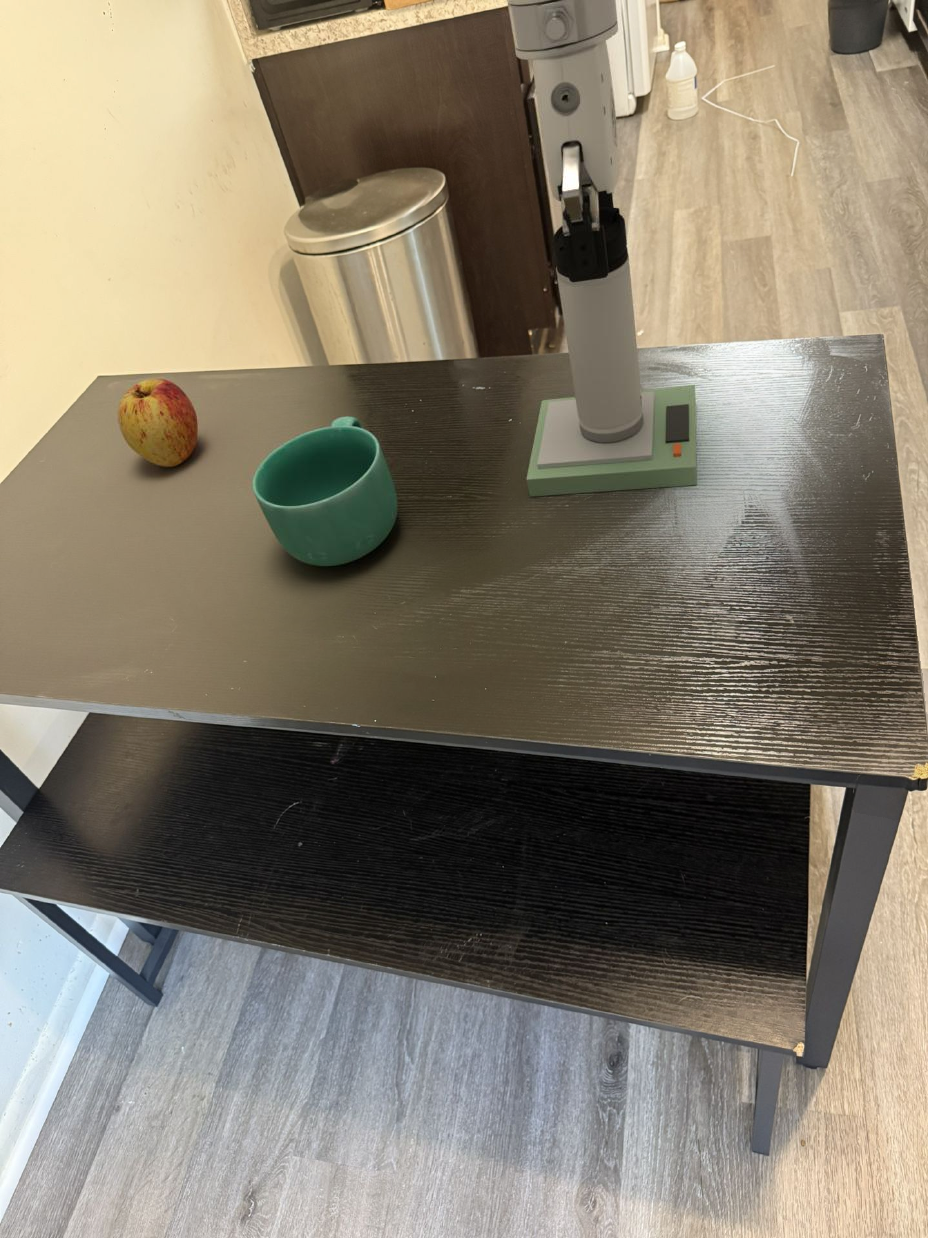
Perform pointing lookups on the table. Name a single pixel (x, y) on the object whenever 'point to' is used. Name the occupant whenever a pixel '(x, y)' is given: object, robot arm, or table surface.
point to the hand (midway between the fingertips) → (593, 252)
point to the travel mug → (603, 338)
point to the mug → (328, 494)
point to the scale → (616, 448)
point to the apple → (158, 422)
